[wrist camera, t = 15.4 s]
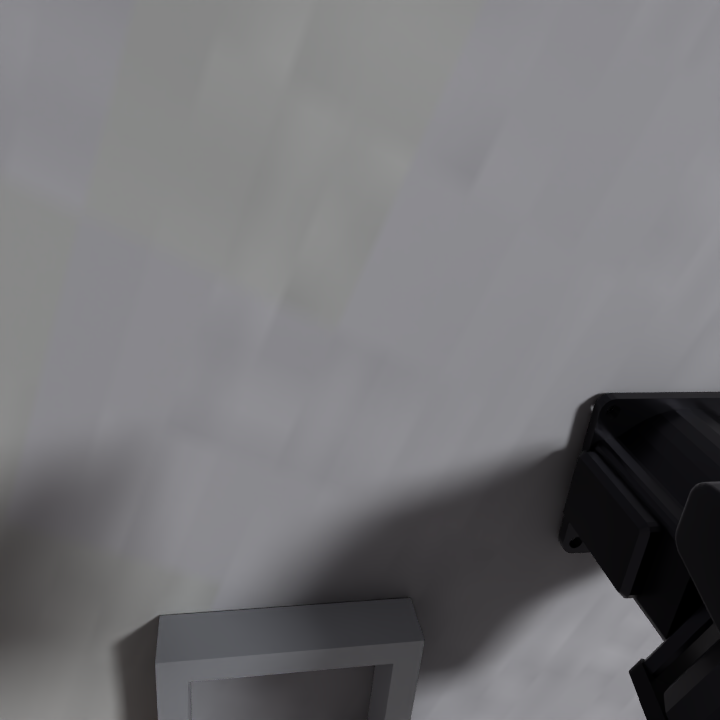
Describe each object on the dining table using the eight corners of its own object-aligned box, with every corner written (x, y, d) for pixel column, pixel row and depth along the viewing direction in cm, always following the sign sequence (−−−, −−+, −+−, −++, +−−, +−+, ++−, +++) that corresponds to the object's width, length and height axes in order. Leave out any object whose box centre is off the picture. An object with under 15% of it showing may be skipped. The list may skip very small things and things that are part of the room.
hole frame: (410, 597, 26) (424, 640, 24) (384, 755, 30) (395, 802, 28) (159, 615, 24) (155, 663, 22) (167, 781, 28) (163, 832, 26)
